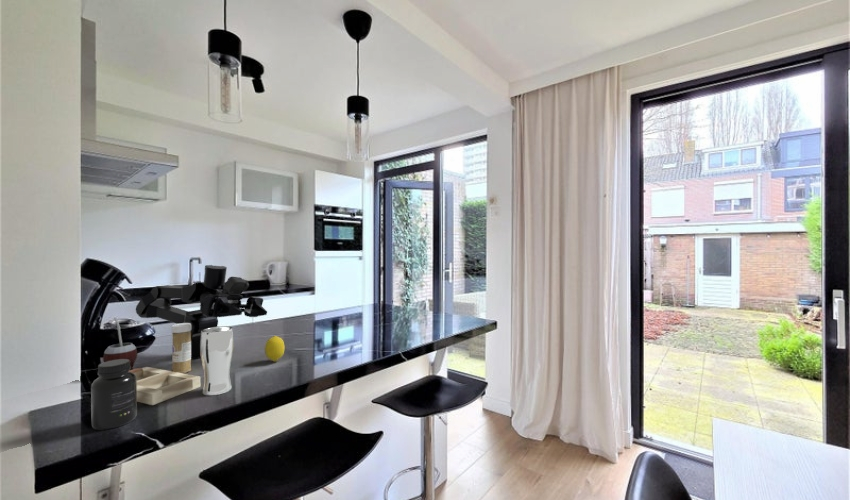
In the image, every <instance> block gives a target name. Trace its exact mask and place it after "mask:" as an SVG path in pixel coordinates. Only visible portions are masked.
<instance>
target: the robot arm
mask: <svg viewBox="0 0 850 500" xmlns="http://www.w3.org/2000/svg"><path fill="white" fill-rule="evenodd" d="M226 276H227V266H225V265H221V266H220V265H212V264H209V265H206V264H205V265H204V275H203V281H201V282H199V281H198V282H194V283H192V284H191V285H185V286H180V285H179V286H178V285H156V286H154V287H152V289H151V290H150V292H148V293H147V294H146V295H144V296H143V297H141V298H140V300H139V301H138V303H137V305H136V307H135V313H136V314H137V316H138V317H139V318H141V319H142V318H143V319H153V318H158V319H161V320H165V321H167V322H171V323H173V324H180V323H190V324H191V359H193V360H196V359H197V360H198V359H201V355H200V341H201V331H202V330H204V329H207V328H212V327H218V325H219V318H224V317H236V316H242V314H243V313H244V316H245V317H249V318H258V317H262V316H263V317H264V316H267V314H268V310H266V308H265V307H263V303H264V298H262V297H259V296H250V297H248V298H247V299H246V303H242V301H241V300H243V297H244V295H241V294H243V292H247V290H248V288H249V287H250V284H249V280H247V279H244V278H242V277H241V276H240V277H239V276H229V277H228V278H227V280H226ZM221 288H222V291H221V290H219V289H221ZM172 299H179V300H181V301H182V302H183V303H187V304H196V303H197V304H198V303H200V304H199V309H195V310H191V311H190V310H185V309H181V308H180V307H179V308H178V307H175V306H172V305H171V304H172V303H173V302H172Z"/></svg>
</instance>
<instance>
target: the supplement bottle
mask: <svg viewBox="0 0 850 500" xmlns="http://www.w3.org/2000/svg"><path fill="white" fill-rule="evenodd" d="M130 369H131V366H130V360H128V359H118V360H112V361H107V362H104V361H103V362H101V363H99V364H98V365H97V376H98V377H97V378H96V379H94V380H93V382H92V383H91V386H90V395H91V397H90V403H91V405H90V407H91V408H90V410H91V414H90V415H91V427H92V429H94V430H98V431H105V430H111V429H116V428H119V427H122V426H124V425H127V424H128V423H132V421H133V420H134V419H136V418H137V415H138V405H137V404H138V403H137V378H136V375H135V374H134V373H132V372H129V370H130Z"/></svg>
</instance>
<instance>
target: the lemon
mask: <svg viewBox="0 0 850 500" xmlns="http://www.w3.org/2000/svg"><path fill="white" fill-rule="evenodd" d="M285 347H286V346H285V342H284V340H283V338H282V337H279V336H277V335H273V336H272V337H270V338H269V339H268V340H267V341H266V343H265V345H264V354H265V356H266V357H267V359H268V360H271V361H273V362H274V363H275V362H277V361H278V360H279V359H281V358H282V357H283V356H284V353H285V349H286V348H285Z"/></svg>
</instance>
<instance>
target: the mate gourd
mask: <svg viewBox="0 0 850 500" xmlns="http://www.w3.org/2000/svg"><path fill="white" fill-rule="evenodd" d="M113 319H114V321H115V323H116V330H117V336H118V341H119V343H116V344H115V343H114V344H112V345H109V346H107V348H106V349H105V350H104V352H103V357H102V360H103V363H104V362H107V361H112V360H118V359H128V360H130V366H131V369H130V370H133V369H134V365H135V363H136V360H137V357H138V349H137V347H136V346H135V344H133V342H123V339H122V331H121V326H120V322H119V320H118V318H117V317H114V318H113ZM130 370H129V371H130Z"/></svg>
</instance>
